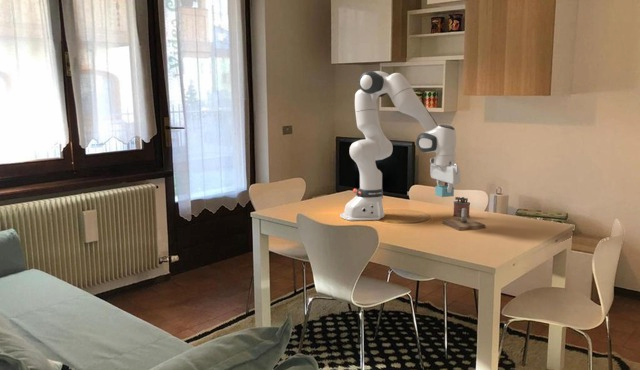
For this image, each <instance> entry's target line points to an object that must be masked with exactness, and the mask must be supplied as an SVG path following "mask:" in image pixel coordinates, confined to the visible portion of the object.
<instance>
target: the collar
mask: <svg viewBox="0 0 640 370" xmlns="http://www.w3.org/2000/svg"><path fill="white" fill-rule="evenodd" d="M434 188H435V192H434V195H435V196H437V197H440V198H449V197H454V194H455V193H454V192H455V188H454V186H453V187H452V189H451V193H448V192H446V188H448V185H442V186H438V185H435V187H434Z"/></svg>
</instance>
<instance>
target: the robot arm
mask: <svg viewBox="0 0 640 370" xmlns="http://www.w3.org/2000/svg"><path fill="white" fill-rule="evenodd" d="M358 85H359V86H358V87H359V89H358V90H357V91H356V92H355V94H354V111H355V120H356V121H355V122H356V127H357V129H358V130H359V131H360V132H361V133H362V134H363V135H364V138H365V139H359V140H356V141H354V142H352V143H351V145H350V146H349V153H348V154H349V156H350V158H351V159H352V160H353V161H354V162H355V163H356V165H357V168H358V172H359V188H358V189H357V188H353V189H352V192H353V193H355V194H356V195H355V196H354V197H352V199H351V200H349V201H348V202H347V203H345V206H344V211H343V212H341V213H340V214H339V216H340V218H342V219H344V220H346V221H378V220H381V219H382V218H385V211H384V205H383V199H384V197H383V196H384V191H383V190H384V188H383V172H382V171H381V170H380V169H378V167H377V164H376V161H382V160H384V159H387V158H389V157H391V155H392V153H393V149H394V148H393V143H392V141H390V140H389V138H387V137H386V135H385V134H384V132H383V130H382V127H381V124H380V117H379V110H378V104H377V103H378V102H377V100H378V98H382V97H384V96H386V95H388V96H389V98H390V100H391V102H392V104H393V105H394V107H395V108H396V109H397V111H398V112H399V113H402V114H405V115H407V116H410V117H413V118H414V119H415V120H417V121H418V122H419V124H420V125H421V126H422V129H424V131H423V132H421V133H419V135H418V136H417V137H416V141H415V143H416V146H417V149H418V150H419V152H422V153H435V156H434V157H433V156H432V157H431V158H429V162H430V166H429V167H430V170H429V171H430V172H429V173H430V177H431V179H434V180H436V186H443V184H442V182H444V183H447V186H448V188H446V192H448V193H451V189H452V187H454V185H459V184H460V182H461V173H460V172H461V171H460V168H459V166H458V163H456V160H457V159H456V156H457V154H456V146H457V132H456V129H455V127H453V126H451V125H448V124H437V122H436V121H435V119H434V118H433V116H432V114H431V113H430V112H429V110H428V109H427V107H426V106H425V105H424V104H423V102H422V101H421V100H420V98H419V97H418V95H417V93H415V90H414V89H413V87H412V85H411V84H410V82H409V81H408V80H407V78H406V77H405V76H404V75H403V74H402V73H400V72H394V73H389V72H387V71H380V70H376V71H373V70H369V71H364V72H363V73H362V74H361V75H360V77H359V79H358Z"/></svg>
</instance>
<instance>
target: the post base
mask: <svg viewBox="0 0 640 370" xmlns="http://www.w3.org/2000/svg"><path fill="white" fill-rule="evenodd" d="M442 224H443V225H444V226H445V225H446V226H447V227H450V228H452V229H454V230H457V231H468V230H477V229H478V230H479V229H485V228H486V224H485V223H481V222H479V221H477V220H475V219H471V218H470V217H469V218H467V209H466V208H463V209H462V216H461V218H458V219H457V218H455V219H453V218H452V219H444V220H442Z"/></svg>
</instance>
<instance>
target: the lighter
mask: <svg viewBox="0 0 640 370" xmlns="http://www.w3.org/2000/svg"><path fill="white" fill-rule="evenodd" d="M454 199H455V201H453V215H452V216H453V218H454V217H455V218H459V219H461V216H462V209H463V208H466V209H467V218H469V219H470V205H471V202H468V201H469V198H468V197H464V196H462V197H461V196H455V197H454Z"/></svg>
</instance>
